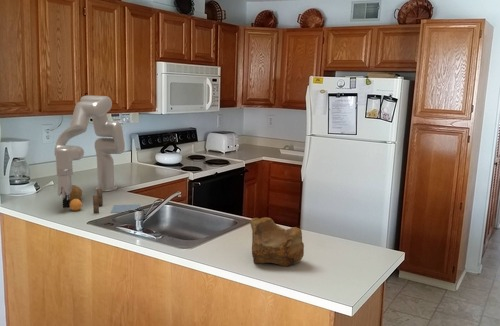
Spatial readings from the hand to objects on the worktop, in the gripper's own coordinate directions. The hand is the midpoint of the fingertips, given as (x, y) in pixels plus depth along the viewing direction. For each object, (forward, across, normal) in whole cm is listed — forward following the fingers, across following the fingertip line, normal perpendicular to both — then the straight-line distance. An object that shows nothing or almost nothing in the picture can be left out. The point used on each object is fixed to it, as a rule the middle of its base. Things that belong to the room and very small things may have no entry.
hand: (66, 207), depth 240 cm
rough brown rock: (+2, +75, +93) cm, 119 cm away
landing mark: (+2, -1, +30) cm, 30 cm away
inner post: (+2, -7, +15) cm, 17 cm away
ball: (-1, 0, +5) cm, 5 cm away
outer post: (+2, +6, +16) cm, 17 cm away
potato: (+2, -19, -1) cm, 19 cm away
